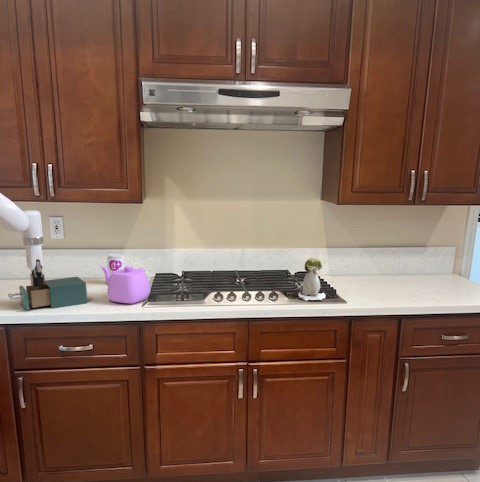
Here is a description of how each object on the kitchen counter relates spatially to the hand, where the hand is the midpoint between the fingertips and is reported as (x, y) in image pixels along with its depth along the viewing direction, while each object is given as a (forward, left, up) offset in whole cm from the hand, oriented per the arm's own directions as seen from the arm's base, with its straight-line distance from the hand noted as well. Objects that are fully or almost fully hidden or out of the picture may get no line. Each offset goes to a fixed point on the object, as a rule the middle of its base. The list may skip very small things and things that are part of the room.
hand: (37, 284), depth 193 cm
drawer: (-2, +1, -8) cm, 9 cm away
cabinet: (+10, -4, -9) cm, 14 cm away
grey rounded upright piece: (+84, -84, -9) cm, 119 cm away
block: (0, 0, 0) cm, 0 cm away
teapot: (+29, -22, -9) cm, 37 cm away
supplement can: (+43, +2, -9) cm, 44 cm away
